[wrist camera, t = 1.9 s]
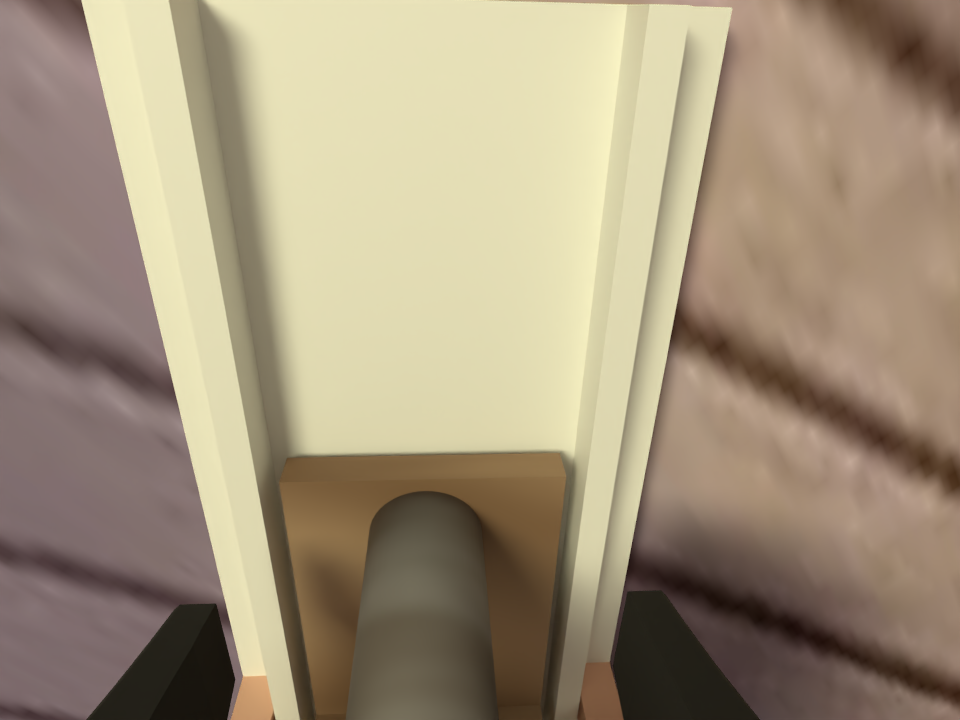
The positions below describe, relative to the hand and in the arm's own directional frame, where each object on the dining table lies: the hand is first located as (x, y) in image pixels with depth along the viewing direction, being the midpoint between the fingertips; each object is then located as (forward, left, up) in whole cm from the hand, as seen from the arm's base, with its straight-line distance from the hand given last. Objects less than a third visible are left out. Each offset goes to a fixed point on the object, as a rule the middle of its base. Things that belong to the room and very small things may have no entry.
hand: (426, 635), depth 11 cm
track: (-6, 0, -5) cm, 8 cm away
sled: (-7, 0, -3) cm, 8 cm away
